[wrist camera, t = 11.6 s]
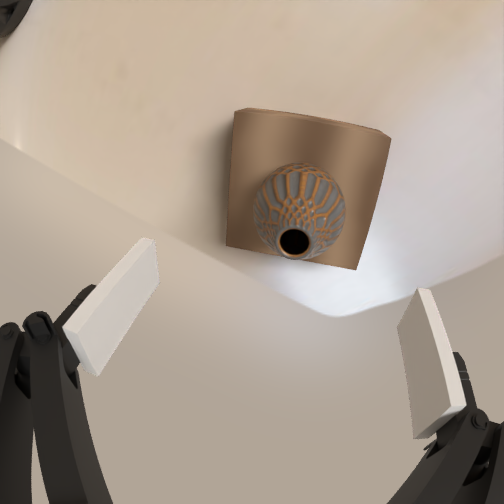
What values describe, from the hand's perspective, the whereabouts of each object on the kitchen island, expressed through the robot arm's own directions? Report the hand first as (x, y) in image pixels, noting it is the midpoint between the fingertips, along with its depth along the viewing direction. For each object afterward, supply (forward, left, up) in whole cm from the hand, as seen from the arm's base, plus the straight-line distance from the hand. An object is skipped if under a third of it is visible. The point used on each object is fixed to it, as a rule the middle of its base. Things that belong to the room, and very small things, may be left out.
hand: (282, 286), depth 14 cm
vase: (0, 0, -13) cm, 13 cm away
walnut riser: (0, 0, -18) cm, 18 cm away
